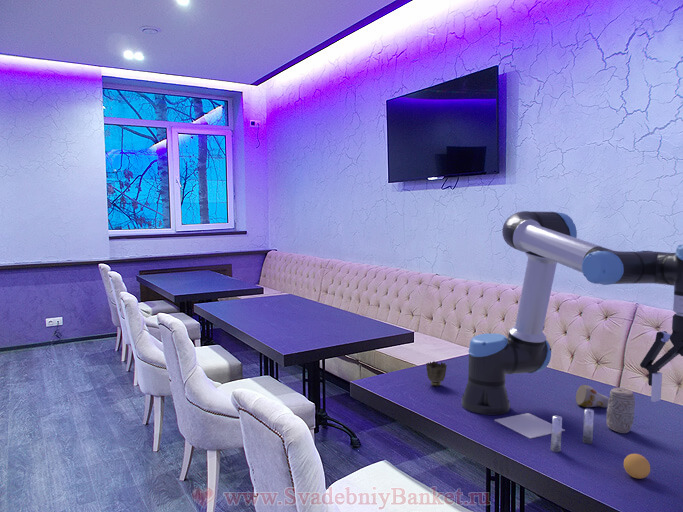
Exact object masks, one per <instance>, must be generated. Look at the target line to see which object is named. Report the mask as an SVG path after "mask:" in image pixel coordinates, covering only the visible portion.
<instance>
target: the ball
mask: <svg viewBox="0 0 683 512" xmlns="http://www.w3.org/2000/svg"><path fill="white" fill-rule="evenodd" d="M623 469H624V470H625V472H626V473H627V474H628V475H629V476H630V477H632V478H635V479H645V478H646V477H648V476H649V475H650V473H651V465H650V462H649V461H648V459H647V458H646V457H645V456H644V455H641V454H640V453H630V454H628V455H626V457H625V458H624V459H623Z"/></svg>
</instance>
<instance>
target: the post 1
mask: <svg viewBox="0 0 683 512" xmlns="http://www.w3.org/2000/svg"><path fill="white" fill-rule="evenodd" d="M551 419H552V420H551V424H552V433H551V434H550V436H551V437H550V439H551V440H550V451H552V452H554V453H561V450H562V449H561V446H562V432H563V431H562V429H563V417H562V416H560V415H552V417H551Z"/></svg>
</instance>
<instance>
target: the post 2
mask: <svg viewBox="0 0 683 512" xmlns="http://www.w3.org/2000/svg"><path fill="white" fill-rule="evenodd" d="M583 411H584V412H583V413H584V414H583V425H582V426H583V429H582V443H583V444H585V445H586V444H587V445H593V440H594V439H593V438H594V437H593V435H594V422H595V421H594V419H595V410H594V409H591V408H585V409H584V410H583Z"/></svg>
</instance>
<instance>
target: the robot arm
mask: <svg viewBox="0 0 683 512" xmlns="http://www.w3.org/2000/svg"><path fill="white" fill-rule="evenodd" d="M501 233H502V237H503V238H502V239H503V240H504V242H505V243H506V244H507V245H508V246H509V247H511V248H512V249H515V250H517V251H520V252H522V253H524V254H525V255H526V256H527V262H526V268H525V272H524V278H523V284H522V288H521V294H520V299H519V304H518V310H517V315H516V320H515V325H514V326H512V327H510V328H509V331H508V335H507V336H508V337H507V336H506V335H504V334H501V333H497V332H496V333H493V332H492V333H481V334H478V335H475V336H473V337H472V338H471V339H470V341H469V347H468V370H467V371H468V375H467V376H468V377H467V384H466V387H465V390H464V393H463V394H462V396H461V406H462V407H463V408H464V409H466V410H467V411H470V412H473V413H476V414H479V415H487V416H488V415H489V416H498V415H499V416H500V415H505V414H507V413H509V412H510V408H511V402H510V399H509V395H508V392H507V391H508V390H507V388H506V376H507V375H514V374H515V375H516V374H517V375H518V374H526V373H527V374H533V373H537V372H541V371H543V370H546V368H548V366H549V364H550V361H551V358H552V350H551V346H550V343H549V341H548V340H547V335H545V333H544V327H545V322H546V316H547V313H548V307H549V302H550V297H551V294H552V293H551V292H552V287H553V283H554V278H555V273H556V269H557V264H560V265H563V266H564V267H565V266H566V267H567V268H570V269H572V270H574V271H577V272H579V273H581V274H582V275H583V276H584V277H585V279H586V280H587V281H588V283H589V282H590V283H591V284H596V285H603V286H609V285H610V286H611V285H631V284H632V285H633V284H638V285H639V284H644V285H645V284H658V285H667V286H673V305H672V308H673V309H672V311H673V312H674V314H673V315H672V322H671V330H672V332H671V333H669V332H667V331H665V330H662V331H657V332H656V334H655V341H654V342H653V344H652V345H651V347H650V348H649V350H648V351H647V353H646V354H645V356H644V357H643V359H642V360H641V362H640V364H639V366H640V367H641V368H642V369H645V370H646V371H648V377H647V378H648V381H647V383H648V386H650V387H651V389H650V390H651V393H650V394H651V395H650V402H652V403H655V402H659V401H661V398H662V381H663V372H660V370H661V369H662V368H664V367H665V366H666V365H667V364H669V363H670V362H671V361H673V360H674V358H676V357H677V356H678V355H680V356H681V357H683V244H679V245H677V247H676V249H675V252H667V251H666V252H664V251H653V250H637V251H622V250H620V251H617V250H613V249H611V248H606V247H605V246H604V247H603V246H601V245H598V244H595V243H592V242H589V241H585V240H583V239H580V238H577V237H578V235H577V234H578V232H577V226H576V224H575V222H574V220H573V219H572V217H571V216H570V215H568V214H566V213H563V212H557V211H529V210H525V211H524V210H523V211H518V212H515V213H513V214H511V215H510V216H509V217H508V218H507V219H506V220H505V221H504V223H503V225H502V231H501ZM669 341H670V342H671V344H672V345H673V346H672V347H671V348H669V349H668V350H667V352H666V353H664V354H662V356H660V358H658V359H657V357H658V355H659V354H660V352H662V351H661V350H663V348H664V346H665V345H666V344H667V342H669ZM656 359H657V360H656ZM655 360H656V361H655Z"/></svg>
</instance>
